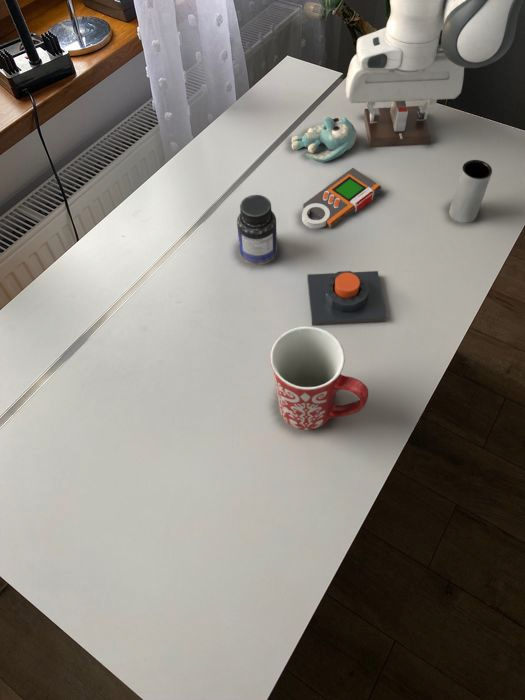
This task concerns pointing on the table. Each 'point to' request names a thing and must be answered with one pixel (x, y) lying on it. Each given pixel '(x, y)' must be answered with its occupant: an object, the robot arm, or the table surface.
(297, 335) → the mug
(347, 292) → the button
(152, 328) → the table surface
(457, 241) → the table surface
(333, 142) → the stuffed animal
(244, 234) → the pill bottle
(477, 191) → the white cylindrical tube
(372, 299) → the button box
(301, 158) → the table surface
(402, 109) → the white rectangular block
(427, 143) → the panel
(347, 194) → the electronic device
